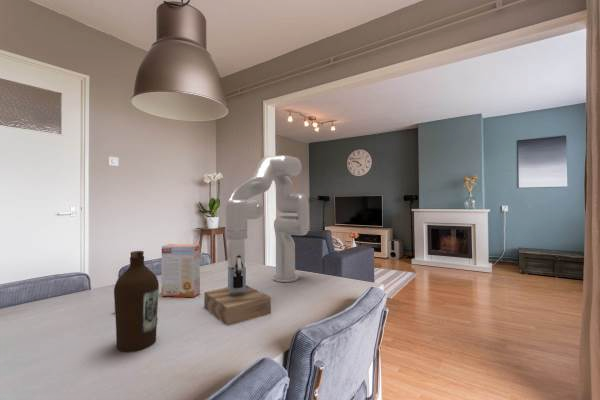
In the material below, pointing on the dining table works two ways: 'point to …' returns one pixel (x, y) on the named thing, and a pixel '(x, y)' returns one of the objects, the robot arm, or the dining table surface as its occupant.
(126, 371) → the dining table surface
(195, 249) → the cracker box
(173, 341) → the dining table surface
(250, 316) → the riser block
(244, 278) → the blue block
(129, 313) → the olive oil
